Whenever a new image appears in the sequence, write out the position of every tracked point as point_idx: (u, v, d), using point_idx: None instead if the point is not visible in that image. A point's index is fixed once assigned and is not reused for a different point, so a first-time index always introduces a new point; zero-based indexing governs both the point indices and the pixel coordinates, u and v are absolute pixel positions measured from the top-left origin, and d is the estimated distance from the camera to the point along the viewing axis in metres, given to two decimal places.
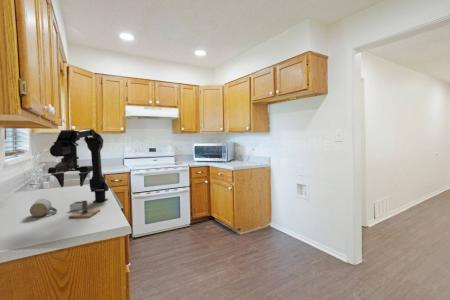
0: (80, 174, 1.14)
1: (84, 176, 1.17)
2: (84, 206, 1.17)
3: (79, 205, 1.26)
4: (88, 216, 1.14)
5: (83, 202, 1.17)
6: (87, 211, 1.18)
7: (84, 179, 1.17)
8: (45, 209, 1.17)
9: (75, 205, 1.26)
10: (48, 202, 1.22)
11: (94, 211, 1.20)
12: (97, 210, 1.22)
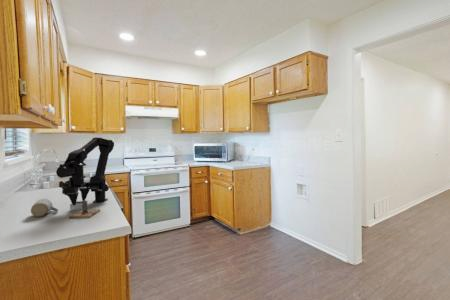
0: None
1: (74, 196, 1.23)
2: (84, 206, 1.17)
3: (79, 205, 1.26)
4: (88, 216, 1.14)
5: (83, 202, 1.17)
6: (87, 211, 1.18)
7: (74, 199, 1.23)
8: (46, 209, 1.17)
9: (75, 205, 1.26)
10: (49, 202, 1.22)
11: (94, 211, 1.20)
12: (97, 210, 1.22)
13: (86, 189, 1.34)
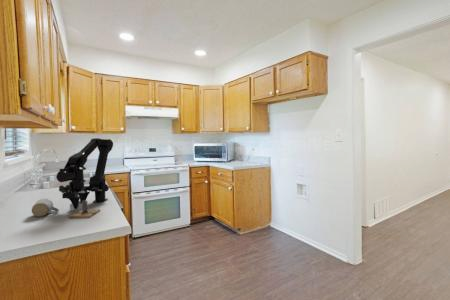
0: None
1: (75, 200, 1.24)
2: (84, 206, 1.17)
3: (79, 205, 1.26)
4: (88, 216, 1.14)
5: (83, 202, 1.17)
6: (87, 211, 1.18)
7: (76, 203, 1.24)
8: (47, 209, 1.17)
9: None
10: (50, 202, 1.22)
11: (94, 211, 1.20)
12: (97, 210, 1.22)
13: (85, 194, 1.32)
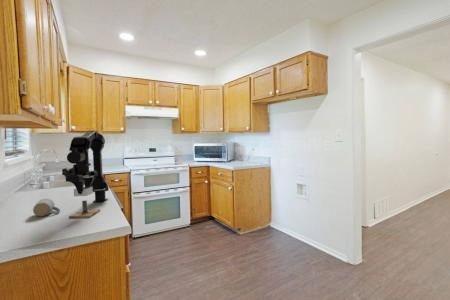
0: None
1: (80, 184, 1.13)
2: (84, 206, 1.17)
3: (84, 190, 1.15)
4: (88, 216, 1.14)
5: (83, 202, 1.17)
6: (87, 211, 1.18)
7: (80, 187, 1.13)
8: (48, 209, 1.17)
9: None
10: (51, 201, 1.22)
11: (94, 211, 1.20)
12: (97, 210, 1.22)
13: (90, 179, 1.21)
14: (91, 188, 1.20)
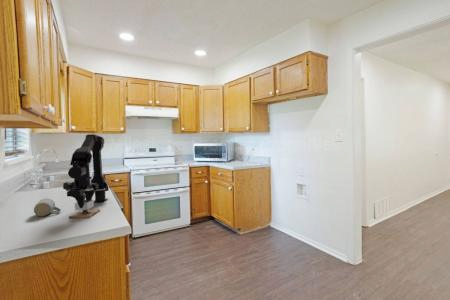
0: None
1: (81, 198, 1.14)
2: None
3: (85, 204, 1.15)
4: (88, 216, 1.14)
5: None
6: (87, 211, 1.18)
7: (81, 202, 1.14)
8: (49, 209, 1.17)
9: None
10: (52, 201, 1.22)
11: (94, 211, 1.20)
12: (97, 210, 1.22)
13: (91, 192, 1.22)
14: (92, 201, 1.20)
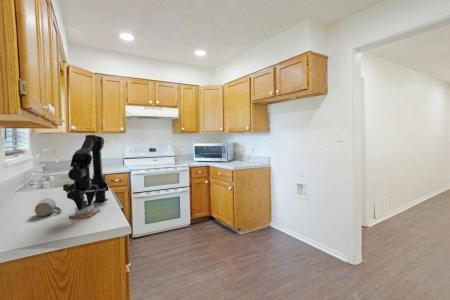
0: None
1: (79, 201, 1.12)
2: (84, 206, 1.17)
3: (85, 209, 1.15)
4: (88, 216, 1.14)
5: (83, 202, 1.17)
6: None
7: (80, 204, 1.13)
8: (50, 208, 1.18)
9: None
10: (53, 201, 1.23)
11: (94, 211, 1.20)
12: (97, 210, 1.22)
13: (92, 193, 1.23)
14: (92, 206, 1.20)
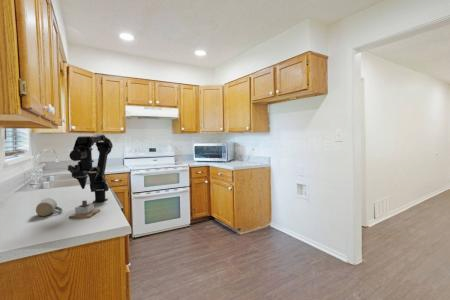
0: None
1: (83, 180, 1.24)
2: (84, 206, 1.17)
3: (85, 209, 1.15)
4: (88, 216, 1.14)
5: (83, 202, 1.17)
6: None
7: (83, 183, 1.24)
8: (51, 208, 1.18)
9: (81, 209, 1.15)
10: (53, 201, 1.23)
11: (94, 211, 1.20)
12: (97, 210, 1.22)
13: (94, 174, 1.35)
14: (92, 206, 1.20)
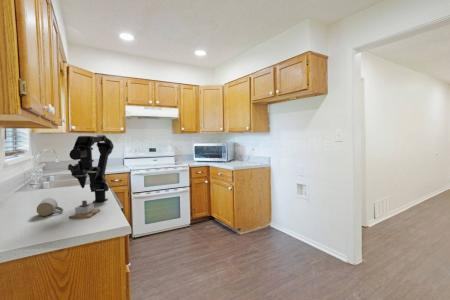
0: None
1: (82, 179, 1.24)
2: (84, 206, 1.17)
3: (85, 209, 1.15)
4: (88, 216, 1.14)
5: (83, 202, 1.17)
6: None
7: (83, 182, 1.25)
8: (51, 208, 1.18)
9: (81, 209, 1.15)
10: (54, 201, 1.23)
11: (94, 211, 1.20)
12: (97, 210, 1.22)
13: (94, 173, 1.35)
14: (92, 206, 1.20)
